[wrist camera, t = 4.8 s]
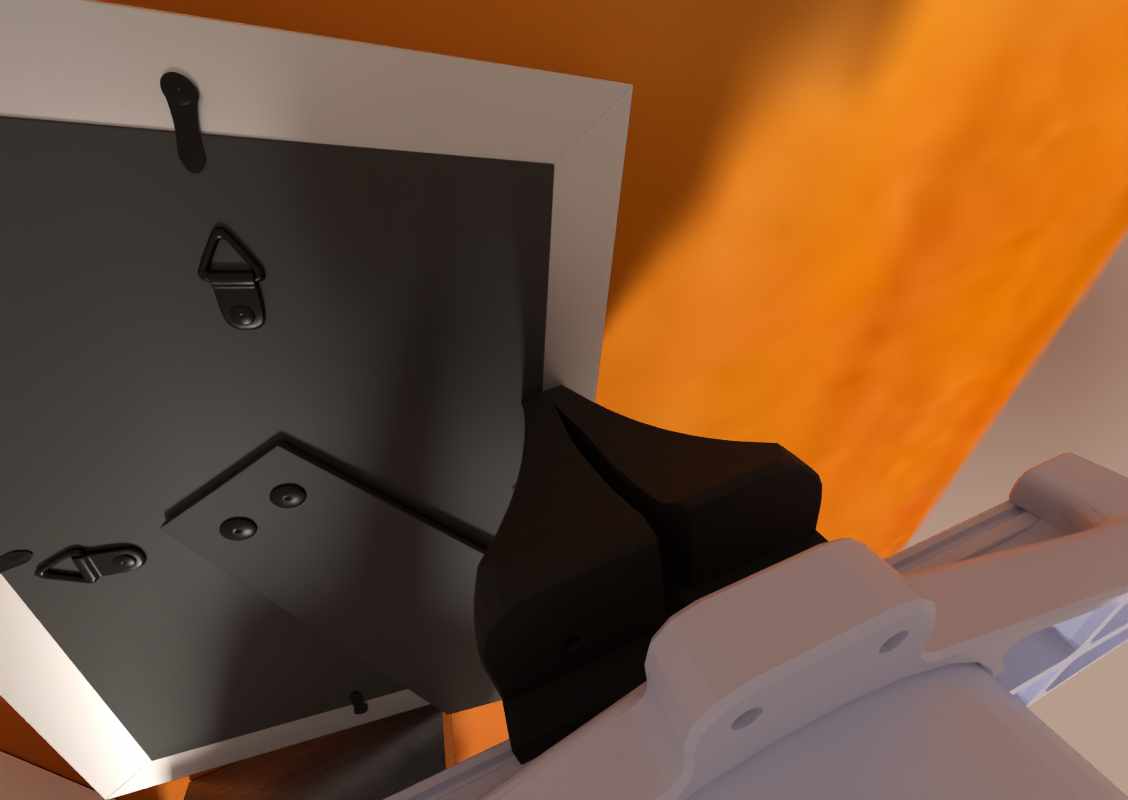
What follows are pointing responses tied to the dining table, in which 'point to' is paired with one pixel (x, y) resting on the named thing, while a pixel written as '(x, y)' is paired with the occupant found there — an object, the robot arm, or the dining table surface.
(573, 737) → the robot arm
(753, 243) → the dining table surface
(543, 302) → the picture frame
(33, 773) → the shelf wall
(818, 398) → the dining table surface
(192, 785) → the bookend
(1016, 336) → the dining table surface
